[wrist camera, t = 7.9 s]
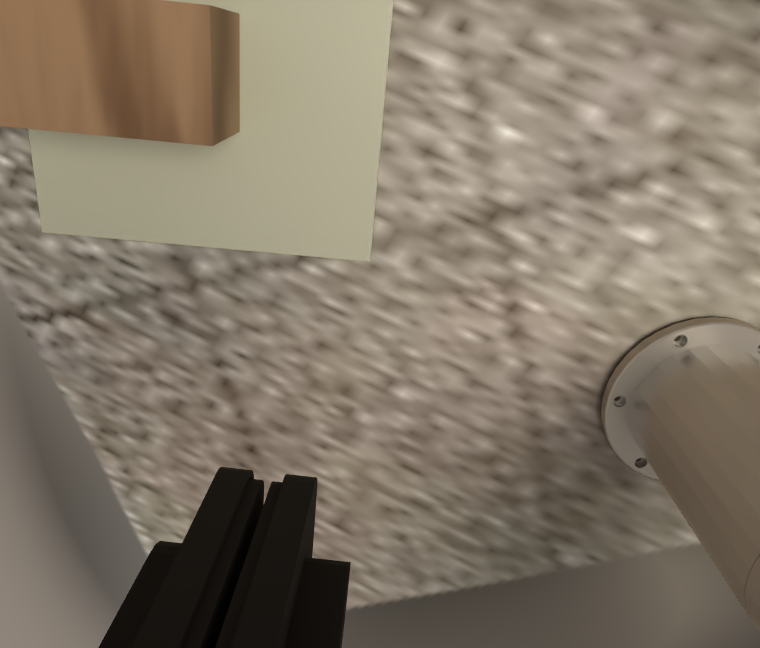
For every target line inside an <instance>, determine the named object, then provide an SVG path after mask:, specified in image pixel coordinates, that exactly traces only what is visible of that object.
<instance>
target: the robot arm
mask: <svg viewBox="0 0 760 648" xmlns="http://www.w3.org/2000/svg"><path fill="white" fill-rule="evenodd" d="M601 418H602V426H603V429H604V432H605V435H606V437H607V440H608V442H609V443H610V445H611V446H612V448H613V450H614V452H615V453H616V454H617V455H618V457H619V458H620V459H621V460H622V461H623V462H624V463H625V464H626V465H627V466H629V467H630V468H631V469H632V470H634V471H636V472H638V473H640V474H642V475H644V476H646V477H649V478H652V479H656V480H660V481H661V482H662V484H663V485H664V487H665V488H666V490H667V491H668V493H669V495H670V496H671V498H672V499H673V501H674V502H675V504H676V505H677V507H678V508H679V510H680V511H681V513H682V514H683V516H684V518H685V519H686V521H687V522H688V524H689V525H690V527H691V528H692V530H693V531H694V533H695V534H696V536H697V538H698V539H699V541H700V542H701V544H702V545H703V547H704V548H705V550H706V551H707V553H708V554H709V556H710V557H711V559H712V561H713V562H714V563H715V565H716V566H717V568H718V570H719V571H720V573H721V574H722V576H723V577H724V579H725V581H726V582H727V584H728V585H729V587H730V588H731V590H732V591H733V593H734V594H735V596H736V597H737V599H738V601H739V602H740V603H741V605H742V607H743V608H744V609H745V611H746V613H747V614H748V616H749V617H750V619H751V620H752V622H753V623H754V624H755V626H756V628H757V629H758V631H759V632H760V329H758V328H756V327H754V326H752V325H751V324H749V323H745V322H742V321H738V320H735V319H730V318H719V317H709V318H697V319H692V320H688V321H684V322H680V323H676V324H674V325H671V326H669V327H667V328H664V329H662V330H660V331H658V332H656V333H654V334H653V335H651V336H650V337H648V338H646V339H645V340H643V341H642V342H641V343H639V344H638V345H637V346H636V347H635V348H634V349H632V350H631V351H630V352H629V353H628V354H627V355H626V356H625V357H624V359H623V360H622V361H621V362H620V363H619V365H618V366H617V367H616V369H615V370H614V372H613V374H612V376H611V377H610V379H609V381H608V383H607V386H606V389H605V392H604V395H603V398H602V407H601ZM316 496H317V478H316V477H307V476H298V475H289V474H286V475H285V477H284V480H283V482H274V481H273V482H272V483H271V485H270V488H269V491H268V494H267V497H266V500H265V503H264V481H263V480H256V479H254V474H253V471H252V470H244V469H235V468H226V467H220V468H219V470H218V471H217V473H216V475H215V477H214V479H213V481H212V483H211V485H210V487H209V489H208V491H207V493H206V496H205V498H204V500H203V502H202V504H201V506H200V508H199V510H198V512H197V514H196V516H195V518H194V520H193V522H192V524H191V526H190V528H189V530H188V533H187V535H186V537H185V539H184V541H183V543H173V542H164V541H159V542H158V543H157V544H156V545H155V546H154V548H153V549H152V551H151V552H150V554H149V556H148V558H147V559H146V561H145V563H144V565H143V567H142V569H141V571H140V572H139V574H138V576H137V578H136V580H135V582H134V584H133V585H132V587H131V589H130V591H129V593H128V594H127V596H126V598H125V600H124V602H123V604H122V605H121V607H120V609H119V611H118V613H117V615H116V617H115V618H114V620H113V622H112V624H111V626H110V627H109V629H108V631H107V633H106V635H105V637H104V639H103V640H102V642H101V644H100V646H99V648H341V645H342V637H343V628H344V620H345V611H346V602H347V593H348V583H349V574H350V563H351V562H343V561H334V560H325V559H316V558H312V551H313V537H314V523H315V509H316ZM263 505H264V506H263Z"/></svg>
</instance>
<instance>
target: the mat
mask: <svg viewBox="0 0 760 648" xmlns="http://www.w3.org/2000/svg"><path fill="white" fill-rule="evenodd" d="M165 1H175V2H184V3H194V4H204V5H211V6H215V7H218V8H222V9H225V10H229V11H232V12H236V13H239V14H240V132H238V133H236V134H235V135H233V136H231V137H229V138H227V139H225V140H223V141H221V142H220V143H218V144H216V145H214V146H205V145H194V144H184V143H173V142H162V141H152V140H141V139H131V138H120V137H110V136H99V135H89V134H78V133H67V132H57V131H46V130H36V129H28V133H29V140H30V147H31V155H32V162H33V169H34V176H35V184H36V191H37V198H38V206H39V213H40V220H41V227H42V232H44V233H55V234H66V235H78V236H89V237H100V238H111V239H122V240H133V241H145V242H156V243H167V244H178V245H189V246H201V247H212V248H223V249H234V250H245V251H257V252H268V253H279V254H290V255H301V256H313V257H324V258H335V259H346V260H357V261H369V262H370V257H371V245H372V234H373V223H374V212H375V201H376V189H377V178H378V167H379V156H380V145H381V133H382V122H383V111H384V100H385V89H386V77H387V66H388V55H389V44H390V32H391V21H392V10H393V0H165Z"/></svg>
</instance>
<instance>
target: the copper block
mask: <svg viewBox="0 0 760 648" xmlns="http://www.w3.org/2000/svg"><path fill="white" fill-rule="evenodd" d="M0 126H4V127H15V128H25V129H36V130H46V131H57V132H67V133H78V134H89V135H99V136H110V137H120V138H131V139H141V140H152V141H162V142H173V143H184V144H194V145H205V146H214V145H216V144H218V143H220V142H221V141H223V140H225V139H227V138H229V137H231V136H233V135H235V134H236V133H238V132H240V14H239V13H236V12H232V11H229V10H225V9H222V8H218V7H215V6H211V5H204V4H194V3H184V2H175V1H165V0H0Z"/></svg>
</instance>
